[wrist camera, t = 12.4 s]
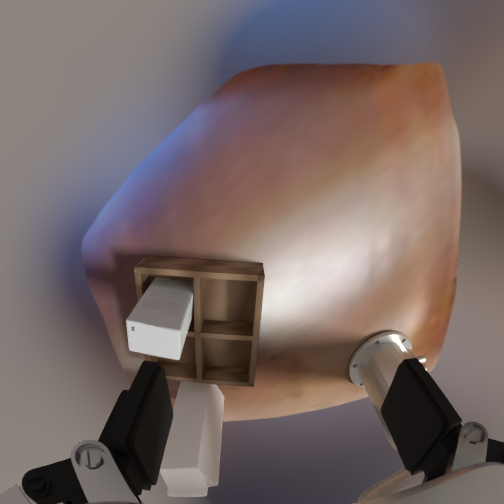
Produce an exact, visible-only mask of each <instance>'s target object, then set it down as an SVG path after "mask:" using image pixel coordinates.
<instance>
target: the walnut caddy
mask: <svg viewBox="0 0 504 504" xmlns="http://www.w3.org/2000/svg"><path fill="white" fill-rule="evenodd" d="M134 274H135V285H136V295H137V303H138V302H139V300H140V299H141V297H142V296H143V294H144V293H145V292H146V290H147V289H148V287H149V286H150V284H151V283H152V282H153V280H154V279H155V277H161V278H167V279H174V280H180V281H187V282H193V283H194V312H193V315H192V319H191V322H190V325H189V329H188V332H187V335H186V339H185V342H184V346H183V349H182V353H181V356H180V359H179V360H174V359H169V358H163V357H158V356H153V355H148V354H145V360H146V361H151V362H158V363H159V364H160V366H162V367H164V370H165V375H166V379H169V380H177V381H185V382H194V383H204V384H216V385H231V386H253V387H254V379H255V369H256V360H257V350H258V340H259V330H260V320H261V309H262V299H263V288H264V277H265V275H264V268H263V263H252V262H235V261H218V260H202V259H187V258H172V257H157V256H144V257H143V258H142V259H141V260H140V261H139V262H138V263H137V264H136V265H135V266H134Z"/></svg>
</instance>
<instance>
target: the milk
mask: <svg viewBox="0 0 504 504" xmlns="http://www.w3.org/2000/svg"><path fill="white" fill-rule="evenodd" d="M223 408H224V395H223V394H222V392H221V391H220V389H219V388H218V386H217V385H216V384H204V383H194V382H185V381H181V382H180V385H179V389H178V393H177V396H176V400H175V404H174V408H173V421H172V424H171V428H170V432H169V436H168V440H167V444H166V448H165V451H164V455H163V459H162V463H161V467H160V473H161V475H162V477H163V479H164V481H165V483H166V485H167V486H168V492H167V495H168V496H170V497H201V496H206V495H207V490H208V487H211V486H216V485H218V477H219V463H220V448H221V434H222V421H223Z"/></svg>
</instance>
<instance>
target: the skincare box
mask: <svg viewBox="0 0 504 504" xmlns="http://www.w3.org/2000/svg"><path fill="white" fill-rule="evenodd" d="M193 312H194V283H193V282H187V281H180V280H174V279H167V278H161V277H155V279H154V280H153V282H152V283H151V284H150V286H149V287H148V289H147V290H146V292H145V293H144V294H143V296H142V297H141V299H140V300H139V302H138V303H137V305H136V306H135V308H134V309H133V310H132V312H131V314H130V315H129V316H128V318H127V319H126V327H127V336H128V345H129V351H133V352H138V353H143V354H148V355H153V356H158V357H163V358H169V359H174V360H179V359H180V356H181V353H182V349H183V346H184V342H185V339H186V335H187V332H188V329H189V325H190V322H191V319H192V315H193Z"/></svg>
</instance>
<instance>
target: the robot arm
mask: <svg viewBox="0 0 504 504" xmlns="http://www.w3.org/2000/svg"><path fill="white" fill-rule="evenodd" d="M425 360H426V357H425V356H424V355H423V356H418V357H416V356H415V355H414V354H413V353H412V344H411V342H410V340H409V339H408V337H407V336H405V335H404V334H403V333H400V332H396V331H389V332H384V333H381V334H378V335H376V336H374V337H372V338H370V339H369V340H368V341H366V342H365V343H364V344H362V345H361V346H360V347H359V348H358V350H357V351H356V352H355V353H354V355H353V357H352V358H351V361H350V363H349V369H348V370H349V375H350V378H351V380H352V382H353V383H354V384H355V385H357V386H358V387H361V388H365V389H366V391H367V393H368V396H369V398H370V400H371V402H372V404H373V406H374V408H375V410H376V413H377V415H378V417H379V419H380V421H381V424H382V426H383V428H384V430H385V433H386V435H387V437H388V440H389V442H390V444H391V445H392V446H393V448H394V449H396V450H397V451H398V452H399V455H400V457H401V459H402V461H403V464H404V466H405V469H403V470H401V471H399V472H398V473H396V474H394V475H392V476H391V477H389V478H387V479H385V480H383V481H382V482H380V483H378V484H376V485H374V486H372V487H371V488H369V489H368V490H366V491H365V492H364V493H363V494H362V495H361V496H360V498H359V500H358V503H353V504H504V442H499V441H496V440H492V439H489V438H488V432H487V430H486V428H485V427H484V426H483V425H482V424H480V423H478V422H473V421H472V422H467V423H465V424H464V425H463V426H462V425H461V422H462V420H461V418H460V417H459V415H458V414H457V412H456V411H455V409H454V408H453V406H452V405H451V404H450V402H449V401H448V399H447V398H446V396H445V395H444V394H443V392H442V391H441V389H440V388H439V387H438V385H437V384H436V383H435V381H434V380H433V378H432V377H431V376H430V375H429V373H428V372H427V370H426V365H425V364H421V363H424V362H425ZM172 421H173V409H172V404H171V400H170V395H169V390H168V385H167V380H166V375H165V370H164V367H162V366H160V364H159V363H158V362H151V361H143V363H142V365H141V367H140V369H139V371H138V373H137V375H136V377H135V379H134V381H133V383H132V385H131V387H130V390H123V391H122V392H121V394H120V396H119V398H118V400H117V402H116V404H115V406H114V408H113V410H112V412H111V414H110V416H109V419H108V420H107V423H106V425H105V427H104V429H103V431H102V433H101V435H100V438H99V440H98V441H95V440H86V441H82V442H80V443H78V444H77V445H76V446H75V447H74V448H73V450H72V452H71V458H69V459H66V460H63V461H60V462H56V463H54V464H50V465H47V466H43V467H39V468H35V469H32V470H30V471H28V472H27V473H26V474H25V475H24V477H23V479H22V485H21V486H19V487H18V486H17V485H15V486H13V487H11V488H10V489H8V490H6V491H5V492H3V493H2V494H0V504H143V502H142V501H141V499H140V498H139V495H141V493H142V489H144V490H149V491H150V489H151V485H156V483H157V479H158V476H159V471H160V467H161V463H162V459H163V455H164V451H165V448H166V444H167V440H168V436H169V432H170V428H171V424H172Z"/></svg>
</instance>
